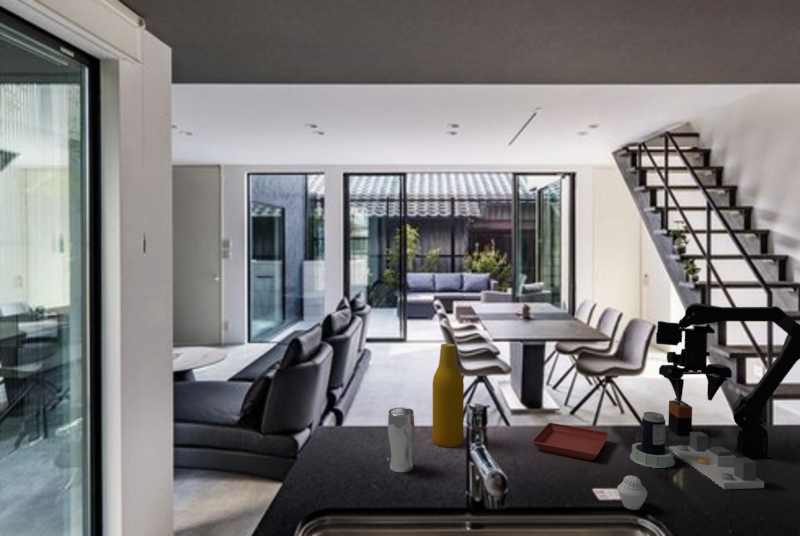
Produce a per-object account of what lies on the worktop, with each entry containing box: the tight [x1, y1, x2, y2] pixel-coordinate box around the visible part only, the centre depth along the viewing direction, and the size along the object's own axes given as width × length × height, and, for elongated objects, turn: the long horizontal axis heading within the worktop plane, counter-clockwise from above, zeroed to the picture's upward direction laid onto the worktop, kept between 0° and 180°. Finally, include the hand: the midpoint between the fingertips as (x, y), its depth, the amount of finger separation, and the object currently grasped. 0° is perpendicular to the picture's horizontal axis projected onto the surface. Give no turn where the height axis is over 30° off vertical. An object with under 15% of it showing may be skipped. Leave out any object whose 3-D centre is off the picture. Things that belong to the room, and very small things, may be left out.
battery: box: [667, 397, 693, 436], centre depth 164 cm, size 4×7×10 cm, turn 176°
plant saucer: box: [531, 422, 610, 461], centre depth 153 cm, size 18×18×3 cm
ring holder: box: [629, 442, 676, 469], centre depth 143 cm, size 11×11×3 cm
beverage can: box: [641, 411, 666, 455], centre depth 143 cm, size 6×6×12 cm
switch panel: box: [668, 431, 765, 490], centre depth 138 cm, size 23×10×6 cm, turn 4°
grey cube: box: [710, 446, 732, 456], centre depth 138 cm, size 3×3×3 cm
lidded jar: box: [617, 475, 648, 511], centre depth 118 cm, size 6×6×7 cm
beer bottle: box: [431, 343, 465, 448], centre depth 156 cm, size 9×9×29 cm
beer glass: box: [387, 407, 415, 473], centre depth 139 cm, size 7×7×15 cm
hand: (694, 400), depth 154 cm, fingers open, 9 cm apart
